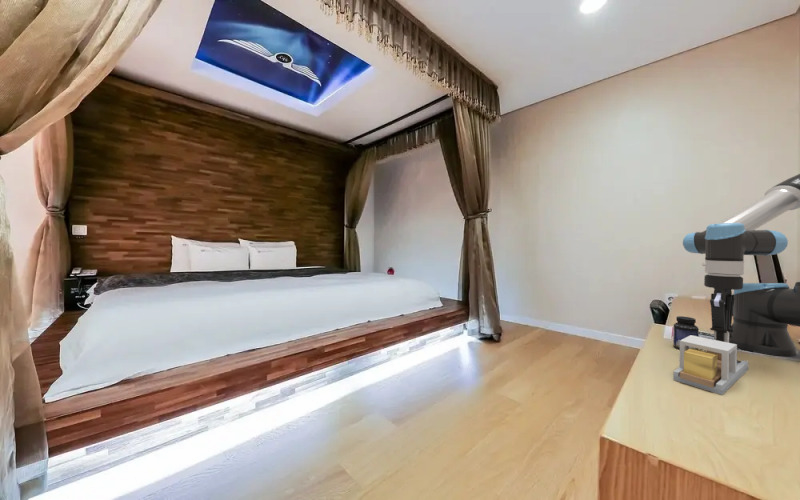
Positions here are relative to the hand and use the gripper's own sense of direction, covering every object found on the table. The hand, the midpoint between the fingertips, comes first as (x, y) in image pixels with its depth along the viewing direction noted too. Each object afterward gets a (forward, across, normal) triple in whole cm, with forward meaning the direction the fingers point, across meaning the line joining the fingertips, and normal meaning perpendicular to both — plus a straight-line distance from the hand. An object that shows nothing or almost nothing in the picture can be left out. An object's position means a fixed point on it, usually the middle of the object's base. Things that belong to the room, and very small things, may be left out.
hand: (721, 352), depth 83 cm
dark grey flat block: (+4, -7, 0) cm, 8 cm away
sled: (+3, +13, 0) cm, 13 cm away
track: (+4, +10, 0) cm, 11 cm away
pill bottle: (+4, -10, -10) cm, 15 cm away
